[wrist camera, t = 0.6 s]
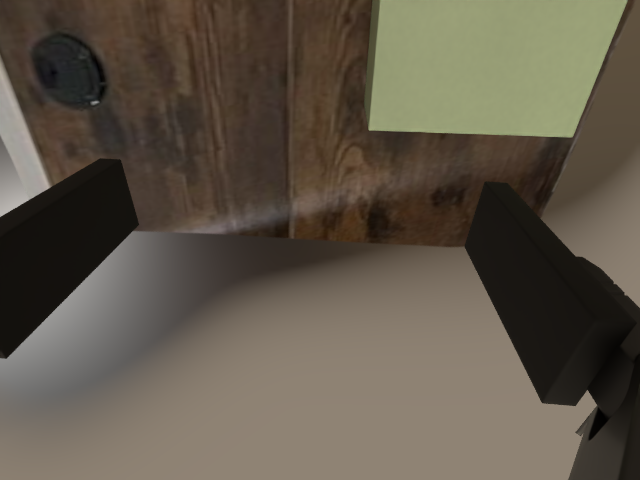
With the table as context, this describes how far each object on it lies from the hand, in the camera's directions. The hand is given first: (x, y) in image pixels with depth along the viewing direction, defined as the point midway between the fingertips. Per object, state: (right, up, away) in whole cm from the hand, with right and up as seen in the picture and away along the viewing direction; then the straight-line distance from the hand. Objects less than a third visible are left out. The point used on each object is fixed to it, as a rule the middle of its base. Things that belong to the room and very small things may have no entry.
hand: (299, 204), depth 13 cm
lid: (+13, +14, +11) cm, 22 cm away
